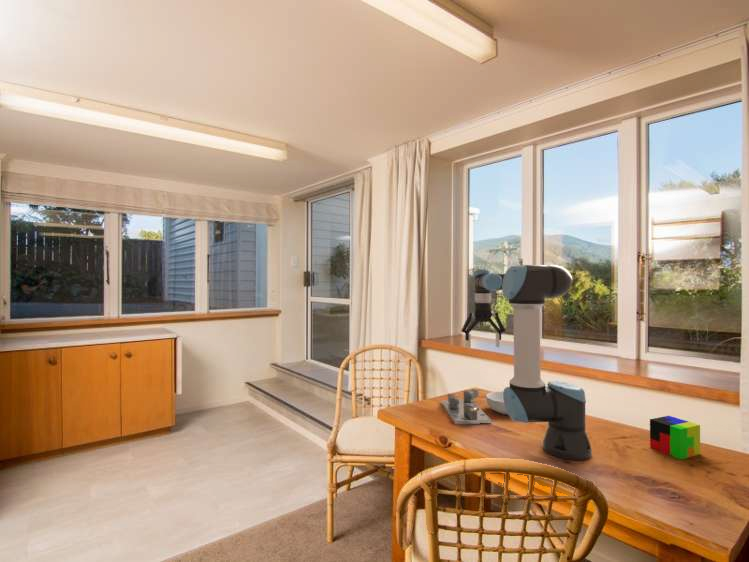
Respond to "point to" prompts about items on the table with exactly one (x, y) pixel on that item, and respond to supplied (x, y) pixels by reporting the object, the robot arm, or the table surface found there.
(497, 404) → the cereal bowl
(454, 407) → the knob
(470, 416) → the knob
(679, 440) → the puzzle toy
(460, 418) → the level plate
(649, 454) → the table surface
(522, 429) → the table surface
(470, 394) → the knob
